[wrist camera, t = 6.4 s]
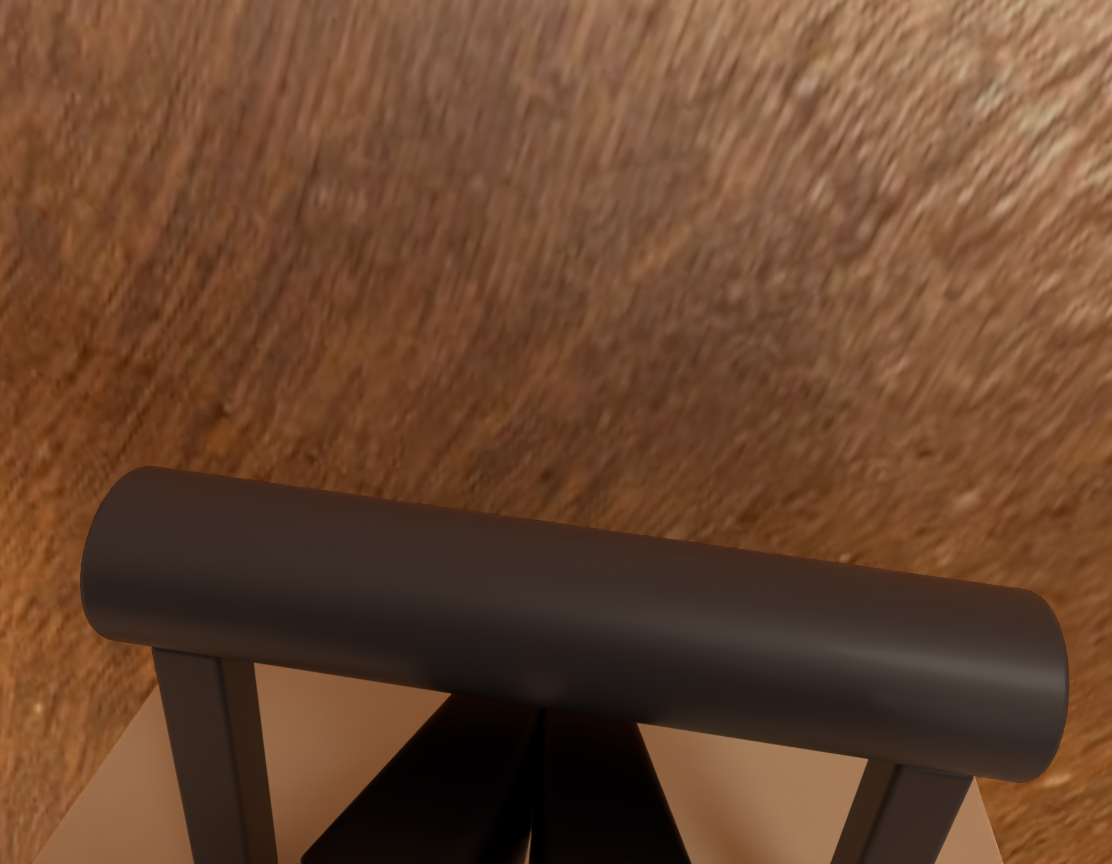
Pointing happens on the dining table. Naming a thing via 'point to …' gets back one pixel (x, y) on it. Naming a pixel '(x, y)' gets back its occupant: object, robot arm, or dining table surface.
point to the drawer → (543, 674)
